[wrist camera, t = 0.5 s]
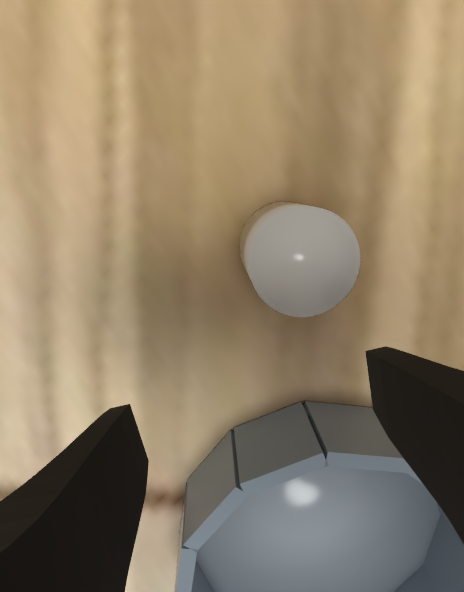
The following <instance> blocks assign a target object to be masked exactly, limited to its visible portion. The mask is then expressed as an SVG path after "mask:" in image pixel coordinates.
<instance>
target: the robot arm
mask: <svg viewBox="0 0 464 592" xmlns="http://www.w3.org/2000/svg"><path fill="white" fill-rule="evenodd" d="M366 358H367V366H368V374H369V381H370V389H371V397H372V404H373V411H374V413H375V414H376V416H377V418H378V420H379V422H380V424H381V426H382V427H383V429H384V431H385V432H386V434H387V436H388V438H389V439H390V441H391V442H392V443H393V445H394V446H395V447H396V449H397V450H398V451H399V453H400V454H401V455H402V457H403V458H404V460H405V461H406V462H407V463H408V465H409V466H410V467H411V469H412V470H413V471H414V473H415V474H416V475H417V477H418V478H419V479H420V481H421V482H422V483H423V485H424V486H425V487H426V489H427V490H428V491H429V493H430V494H431V495H432V497H433V498H434V499H435V500H436V502H437V503H438V505H439V506H440V508H441V509H442V510H443V512H444V513H445V515H446V516H447V518H448V519H449V521H450V522H451V524H452V526H453V527H454V529H455V531H456V532H457V534H458V535H459V537H460V539H461V540H462V542H463V544H464V371H461V370H458V369H455V368H451V367H448V366H445V365H442V364H439V363H436V362H433V361H430V360H427V359H424V358H421V357H418V356H415V355H412V354H409V353H406V352H403V351H400V350H397V349H393V348H390V347H382V348H377V349H373V350H369V351H366ZM147 475H148V458H147V455H146V452H145V449H144V446H143V443H142V440H141V437H140V434H139V430H138V427H137V424H136V421H135V418H134V415H133V412H132V409H131V406H130V404H128V405H124V406H119V407H115V408H110V409H109V410H107V411H106V412H105V413H103V414H102V415H101V416H100V417H99V418H98V419H97V420H96V421H94V422H93V423H92V424H91V425H90V426H89V427H88V428H87V429H86V430H85V431H84V432H83V433H82V434H81V435H79V436H78V437H77V438H76V439H75V440H74V441H73V442H72V443H71V444H70V445H69V446H68V447H67V448H66V449H64V450H63V451H62V452H61V453H60V454H59V455H58V456H56V457H55V458H54V459H53V460H52V461H51V462H50V463H48V464H47V465H46V466H45V467H44V468H43V469H41V470H40V471H39V472H38V473H37V474H36V475H34V476H33V477H32V478H31V479H30V480H28V481H27V482H26V483H24V484H23V485H22V486H21V487H19V488H18V489H17V490H15V491H14V492H13V493H11V494H10V495H9V496H7V497H6V498H4V499H3V500H2V501H0V592H125V586H126V581H127V575H128V570H129V566H130V561H131V557H132V552H133V548H134V544H135V539H136V535H137V531H138V526H139V522H140V517H141V513H142V508H143V504H144V499H145V494H146V486H147Z"/></svg>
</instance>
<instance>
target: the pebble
mask: <svg viewBox="0 0 464 592" xmlns="http://www.w3.org/2000/svg"><path fill="white" fill-rule="evenodd" d="M239 248H240V256H241V259H242V262H243V264H244V266H245V269H246V271H247V273H248V275H249V277H250V279H251V282H252V284H253V286H254V288H255V290H256V292H257V294H258V295H259V297H260V298H261V299H262V300H263V301H264V302H265V303H266V304H267V305H268V306H269V307H271V308H272V309H274V310H275V311H277V312H279V313H281V314H284V315H287V316H292V317H311V316H316V315H319V314H322V313H324V312H326V311H329V310H330V309H332V308H334V307H335V306H336V305H338V304H339V303H340V302H341V301H342V300H343V299H344V298H345V297H346V296H347V295H348V293H349V292H350V291H351V289H352V287H353V286H354V284H355V282H356V279H357V276H358V273H359V269H360V258H361V257H360V248H359V244H358V241H357V238H356V236H355V234H354V232H353V230H352V229H351V228H350V226H349V225H348V224H347V223H346V222H345V221H344V220H343V219H342V218H341V217H339V216H338V215H337V214H335V213H333V212H331V211H329V210H326V209H323V208H318V207H313V206H308V205H302V204H297V203H292V202H276V203H271V204H268V205H266V206H264V207H262V208H260V209H259V210H257V211H256V212H255V213H254V214H253V215H252V216H251V217H250V218H249V219H248V221H247V222H246V224H245V226H244V228H243V230H242V233H241V237H240V244H239Z"/></svg>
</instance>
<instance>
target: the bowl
mask: <svg viewBox="0 0 464 592" xmlns="http://www.w3.org/2000/svg"><path fill="white" fill-rule="evenodd" d="M175 592H464V544H463V542H462V540H461V539H460V537H459V535H458V534H457V532H456V531H455V529H454V527H453V526H452V524H451V522H450V521H449V519H448V518H447V516H446V515H445V513H444V512H443V510H442V509H441V508H440V506H439V505H438V503H437V502H436V500H435V499H434V498H433V497H432V495H431V494H430V493H429V491H428V490H427V489H426V487H425V486H424V485H423V483H422V482H421V481H420V479H419V478H418V477H417V475H416V474H415V473H414V471H413V470H412V469H411V467H410V466H409V465H408V463H407V462H406V461H405V460H404V458H403V457H402V455H401V454H400V453H399V451H398V450H397V449H396V447H395V446H394V445H393V443H392V442H391V441H390V439H389V438H388V436H387V434H386V432H385V431H384V429H383V427H382V426H381V424H380V422H379V420H378V418H377V416H376V414H375V413H374V411H373V408H372V407H362V406H351V405H341V404H331V403H320V402H310V401H305V404H304V405H302V403H301V402H299V403H296V404H294V405H291V406H288V407H286V408H283V409H281V410H278V411H275V412H273V413H270V414H268V415H265V416H262V417H260V418H257V419H255V420H252V421H250V422H247V423H244V424H242V425H239V426H237V427H234V432H233V431H231V430H230V431H229V432H228V433H227V434H226V436H225V437H224V438H223V439H222V440H221V441H220V443H219V444H218V445H217V446H216V447H215V448H214V449H213V451H212V452H211V453H210V454H209V455H208V456H207V457H206V459H205V460H204V461H203V462H202V463H201V464H200V466H199V467H198V468H197V469H196V470H195V471H194V472H193V474H192V475H191V476H190V477H189V478H188V482H186V488H185V496H184V504H183V511H182V519H181V527H180V534H179V544H178V556H177V568H176V580H175Z"/></svg>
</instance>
